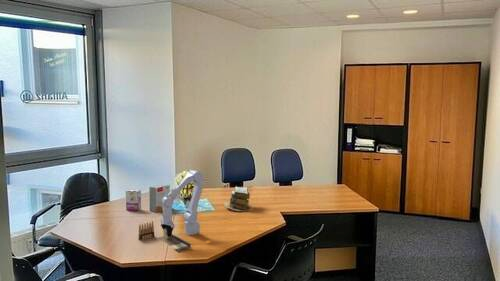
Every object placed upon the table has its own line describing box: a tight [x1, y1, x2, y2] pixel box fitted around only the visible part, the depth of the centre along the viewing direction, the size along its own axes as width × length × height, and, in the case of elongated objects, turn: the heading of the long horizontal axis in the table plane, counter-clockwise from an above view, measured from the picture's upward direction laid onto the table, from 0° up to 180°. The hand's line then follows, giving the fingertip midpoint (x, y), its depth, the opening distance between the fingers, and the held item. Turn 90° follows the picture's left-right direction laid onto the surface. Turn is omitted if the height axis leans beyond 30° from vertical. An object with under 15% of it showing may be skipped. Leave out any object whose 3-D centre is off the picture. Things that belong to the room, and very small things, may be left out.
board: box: [157, 233, 192, 253], centre depth 262 cm, size 9×26×3 cm, turn 40°
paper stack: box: [223, 186, 255, 212], centre depth 342 cm, size 25×25×17 cm
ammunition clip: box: [137, 220, 155, 241], centre depth 268 cm, size 11×2×12 cm, turn 131°
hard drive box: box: [148, 183, 171, 213], centre depth 336 cm, size 16×8×20 cm, turn 143°
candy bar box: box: [125, 189, 142, 212], centre depth 335 cm, size 11×5×16 cm, turn 76°
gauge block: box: [162, 228, 172, 239], centre depth 269 cm, size 4×4×6 cm
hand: (167, 235), depth 269 cm, fingers closed on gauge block, 4 cm apart
